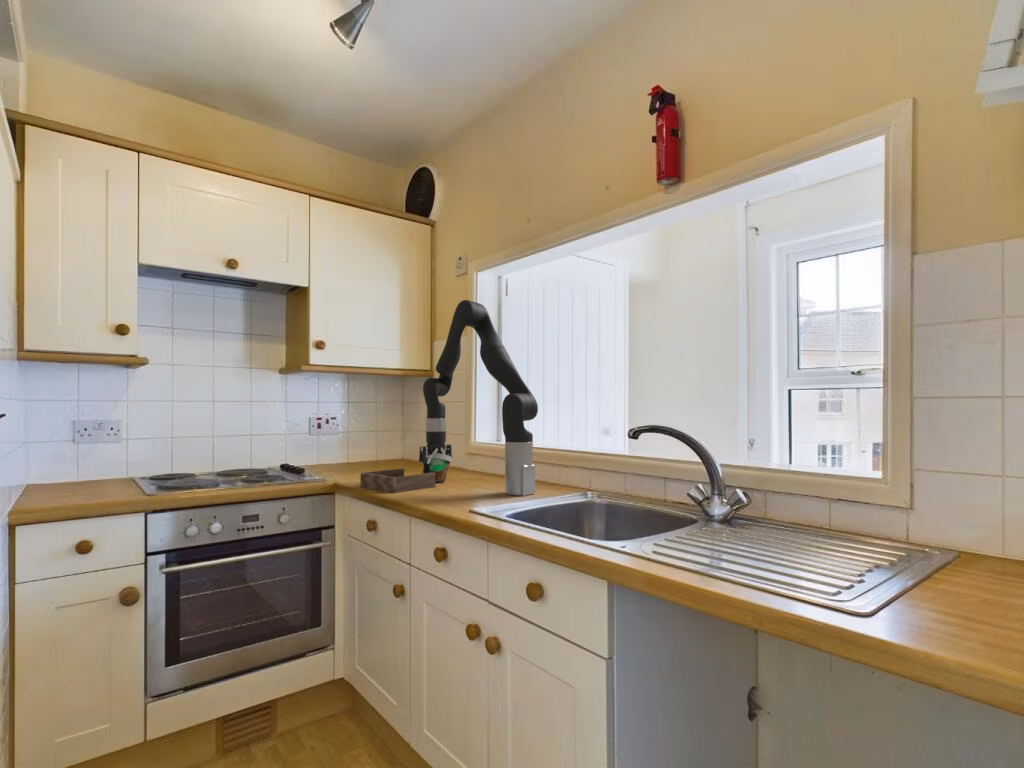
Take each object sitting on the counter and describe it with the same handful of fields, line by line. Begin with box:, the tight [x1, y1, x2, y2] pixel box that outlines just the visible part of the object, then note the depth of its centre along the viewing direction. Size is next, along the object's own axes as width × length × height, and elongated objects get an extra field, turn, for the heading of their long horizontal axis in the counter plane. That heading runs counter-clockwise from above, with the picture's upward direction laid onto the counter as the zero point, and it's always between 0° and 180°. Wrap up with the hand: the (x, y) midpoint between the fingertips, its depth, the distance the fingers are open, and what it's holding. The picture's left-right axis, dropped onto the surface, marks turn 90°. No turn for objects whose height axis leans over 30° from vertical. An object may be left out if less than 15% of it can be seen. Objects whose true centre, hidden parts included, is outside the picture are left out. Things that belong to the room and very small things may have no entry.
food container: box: [421, 453, 453, 483], centre depth 205 cm, size 12×6×10 cm, turn 64°
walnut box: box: [359, 467, 436, 494], centre depth 193 cm, size 19×18×5 cm
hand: (435, 472), depth 206 cm, fingers open, 8 cm apart
